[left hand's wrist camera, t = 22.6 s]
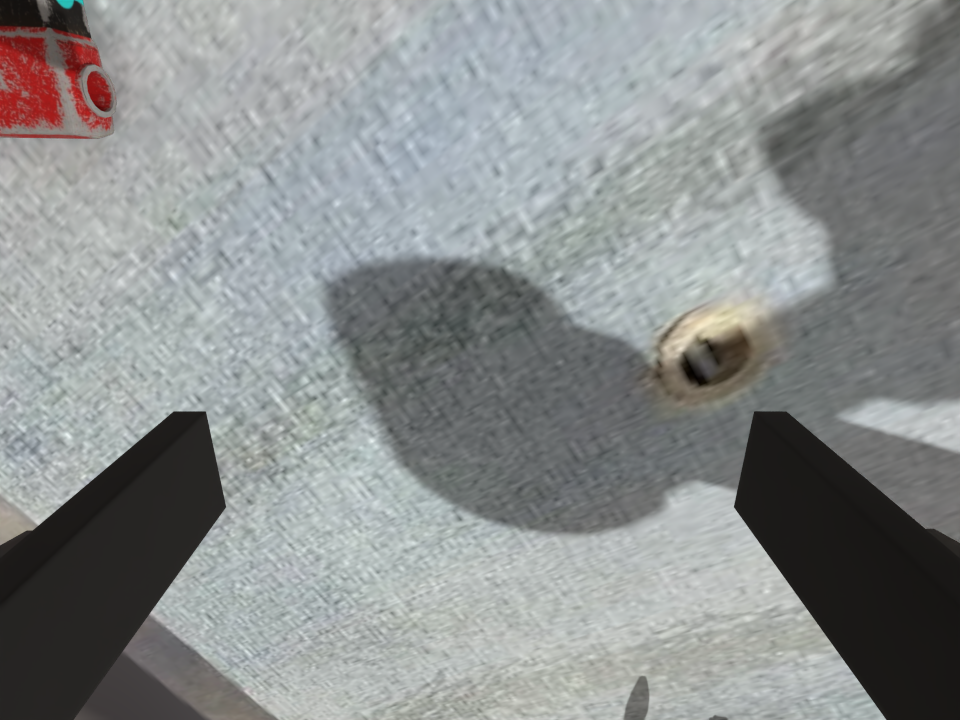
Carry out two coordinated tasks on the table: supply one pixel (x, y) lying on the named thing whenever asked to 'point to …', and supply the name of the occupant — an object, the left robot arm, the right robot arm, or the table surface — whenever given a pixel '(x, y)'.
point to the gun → (51, 73)
